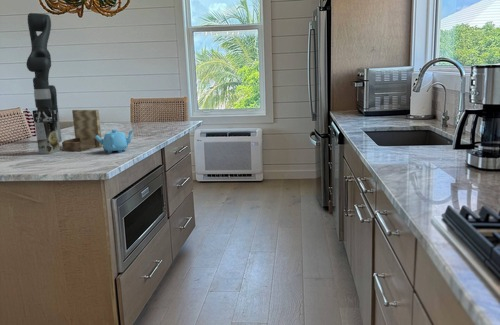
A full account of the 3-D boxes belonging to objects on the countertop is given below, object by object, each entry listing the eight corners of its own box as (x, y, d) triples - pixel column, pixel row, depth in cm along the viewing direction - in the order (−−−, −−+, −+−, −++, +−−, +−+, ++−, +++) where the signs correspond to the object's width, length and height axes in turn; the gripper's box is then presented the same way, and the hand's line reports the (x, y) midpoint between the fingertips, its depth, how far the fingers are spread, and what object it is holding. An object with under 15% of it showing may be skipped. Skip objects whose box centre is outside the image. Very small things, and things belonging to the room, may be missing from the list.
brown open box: (62, 150, 230) (61, 141, 229) (79, 146, 241) (78, 137, 240) (81, 151, 225) (80, 141, 224) (96, 147, 236) (95, 138, 235)
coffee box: (49, 154, 220) (45, 122, 217) (38, 154, 222) (34, 122, 218) (60, 150, 229) (57, 120, 226) (49, 150, 230) (46, 120, 227)
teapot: (122, 148, 232) (120, 126, 230) (136, 150, 223) (134, 128, 221) (95, 152, 221) (93, 130, 219) (109, 155, 212) (107, 132, 210)
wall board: (76, 146, 241) (72, 110, 237) (78, 145, 243) (74, 109, 239) (99, 147, 236) (95, 110, 232) (102, 146, 238) (98, 110, 233)
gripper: (59, 97, 220) (63, 130, 224) (37, 97, 225) (42, 129, 229) (48, 98, 214) (52, 132, 217) (25, 98, 219) (30, 131, 222)
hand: (47, 130), depth 223 cm, fingers closed on coffee box, 7 cm apart
